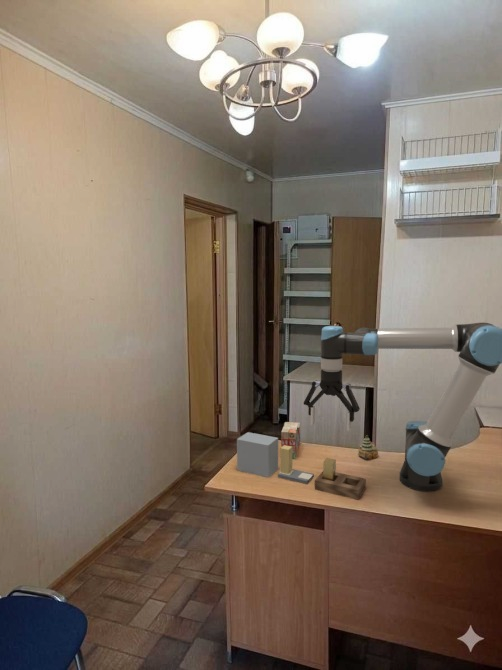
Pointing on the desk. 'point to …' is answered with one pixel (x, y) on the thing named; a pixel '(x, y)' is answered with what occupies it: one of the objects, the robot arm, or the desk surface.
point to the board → (295, 476)
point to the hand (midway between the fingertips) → (330, 426)
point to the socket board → (342, 485)
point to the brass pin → (329, 469)
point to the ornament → (367, 449)
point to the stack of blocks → (291, 437)
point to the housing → (257, 454)
